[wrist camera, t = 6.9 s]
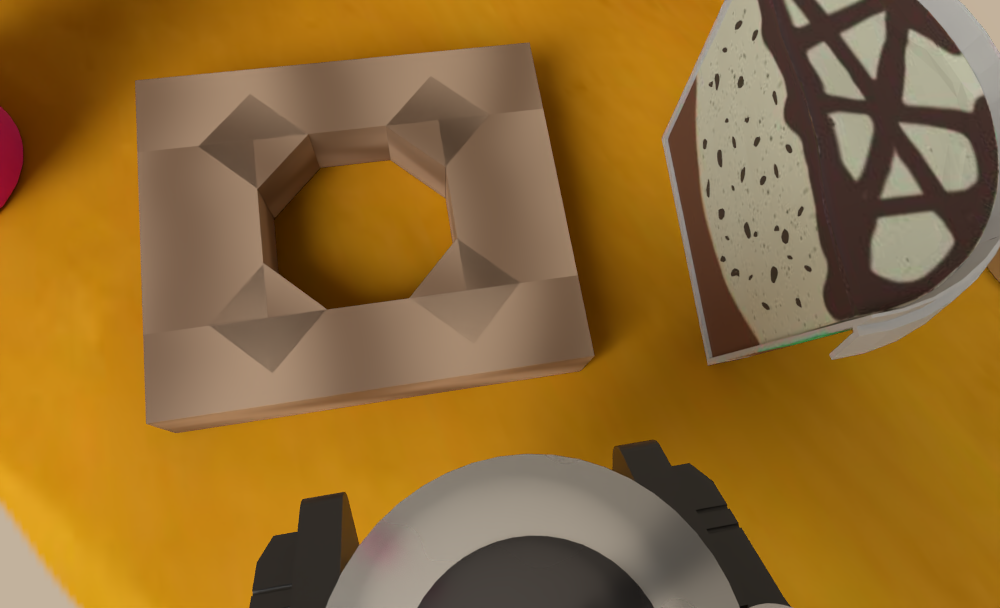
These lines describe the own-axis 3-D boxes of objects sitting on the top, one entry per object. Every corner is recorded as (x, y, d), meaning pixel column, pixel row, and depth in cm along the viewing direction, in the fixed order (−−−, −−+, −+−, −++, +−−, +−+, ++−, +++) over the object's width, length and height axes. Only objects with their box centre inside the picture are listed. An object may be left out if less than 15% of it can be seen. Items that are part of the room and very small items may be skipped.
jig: (522, 82, 29) (529, 42, 26) (580, 370, 26) (594, 355, 23) (162, 118, 27) (135, 80, 25) (175, 433, 24) (146, 423, 22)
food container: (876, 388, 26) (1122, 315, 17) (716, 406, 26) (878, 341, 16) (797, 96, 30) (966, -104, 20) (654, 105, 29) (758, -97, 19)
